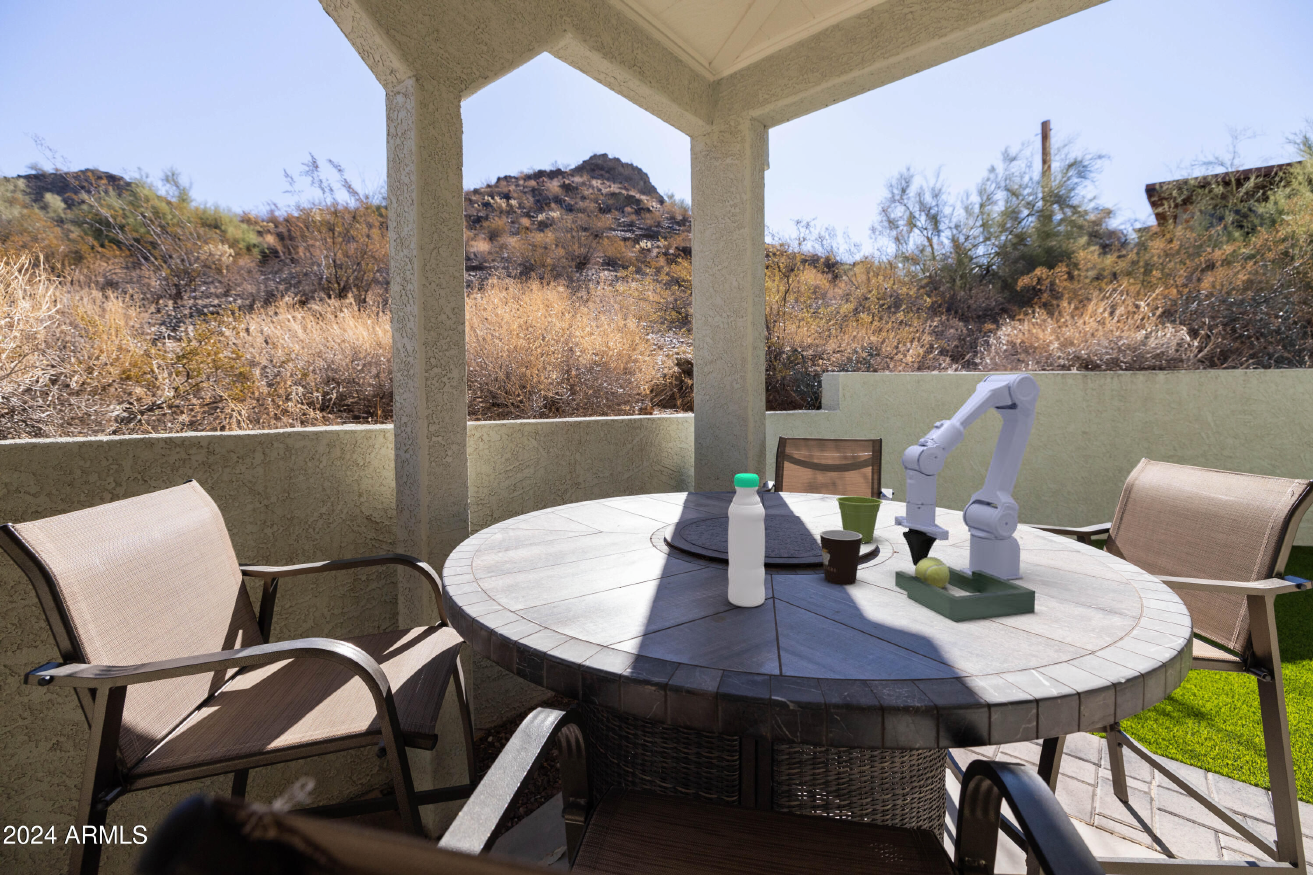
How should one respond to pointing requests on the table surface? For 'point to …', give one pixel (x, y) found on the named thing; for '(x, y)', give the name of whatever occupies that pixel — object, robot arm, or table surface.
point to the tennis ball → (933, 571)
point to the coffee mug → (840, 555)
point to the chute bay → (992, 601)
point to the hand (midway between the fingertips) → (919, 565)
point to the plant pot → (859, 515)
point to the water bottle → (746, 544)
